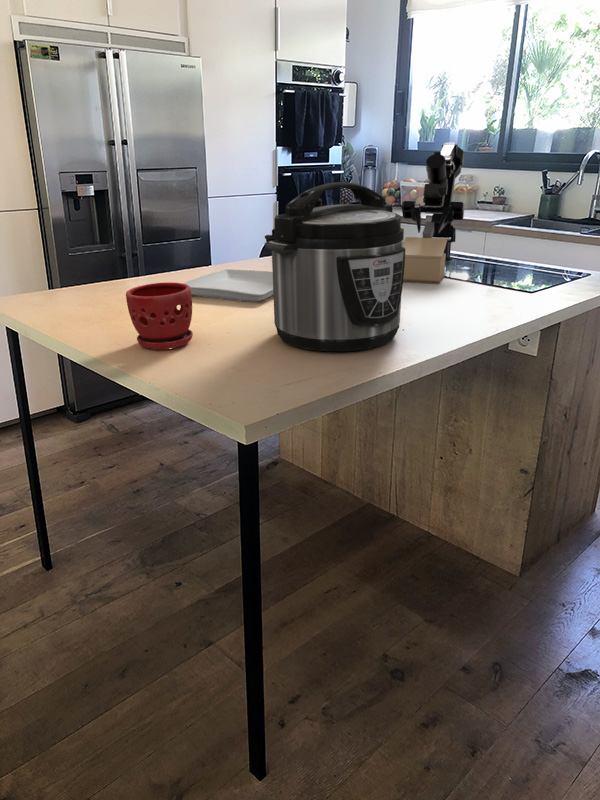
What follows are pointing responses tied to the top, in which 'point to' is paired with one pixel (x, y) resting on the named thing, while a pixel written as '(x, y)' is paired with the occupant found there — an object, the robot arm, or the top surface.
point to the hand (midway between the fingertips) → (428, 232)
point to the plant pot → (161, 314)
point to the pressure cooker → (337, 271)
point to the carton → (424, 270)
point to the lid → (425, 244)
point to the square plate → (234, 285)
